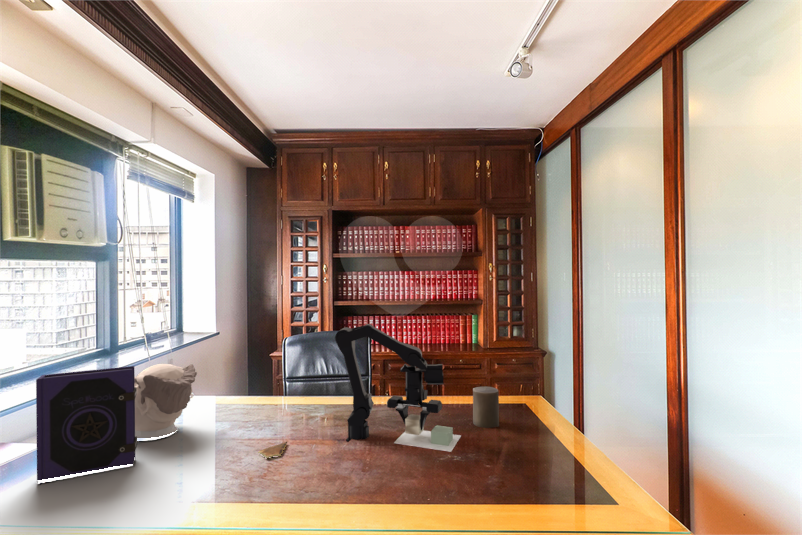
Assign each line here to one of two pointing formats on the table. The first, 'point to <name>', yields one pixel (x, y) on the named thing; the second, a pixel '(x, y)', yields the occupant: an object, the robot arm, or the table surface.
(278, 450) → the shard
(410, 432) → the cream block
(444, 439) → the green block
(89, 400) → the book
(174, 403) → the bust
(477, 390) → the pillar candle
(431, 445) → the pale grey board
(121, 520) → the table surface
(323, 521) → the table surface
